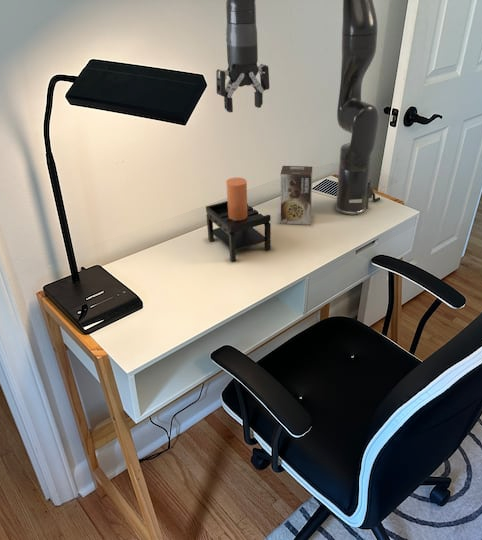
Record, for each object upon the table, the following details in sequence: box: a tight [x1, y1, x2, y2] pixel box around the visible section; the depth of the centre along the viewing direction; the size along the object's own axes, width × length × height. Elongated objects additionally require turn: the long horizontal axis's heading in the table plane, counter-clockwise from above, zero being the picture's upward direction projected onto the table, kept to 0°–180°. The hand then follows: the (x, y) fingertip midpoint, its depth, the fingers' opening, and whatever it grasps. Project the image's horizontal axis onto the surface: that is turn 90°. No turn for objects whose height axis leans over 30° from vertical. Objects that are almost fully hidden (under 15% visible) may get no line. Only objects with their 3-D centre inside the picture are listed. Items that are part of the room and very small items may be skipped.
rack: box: [205, 200, 272, 263], centre depth 140 cm, size 12×14×10 cm
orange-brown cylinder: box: [225, 177, 248, 220], centre depth 135 cm, size 5×5×10 cm
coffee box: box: [279, 165, 313, 226], centre depth 151 cm, size 9×6×16 cm
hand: (244, 109), depth 134 cm, fingers open, 8 cm apart
